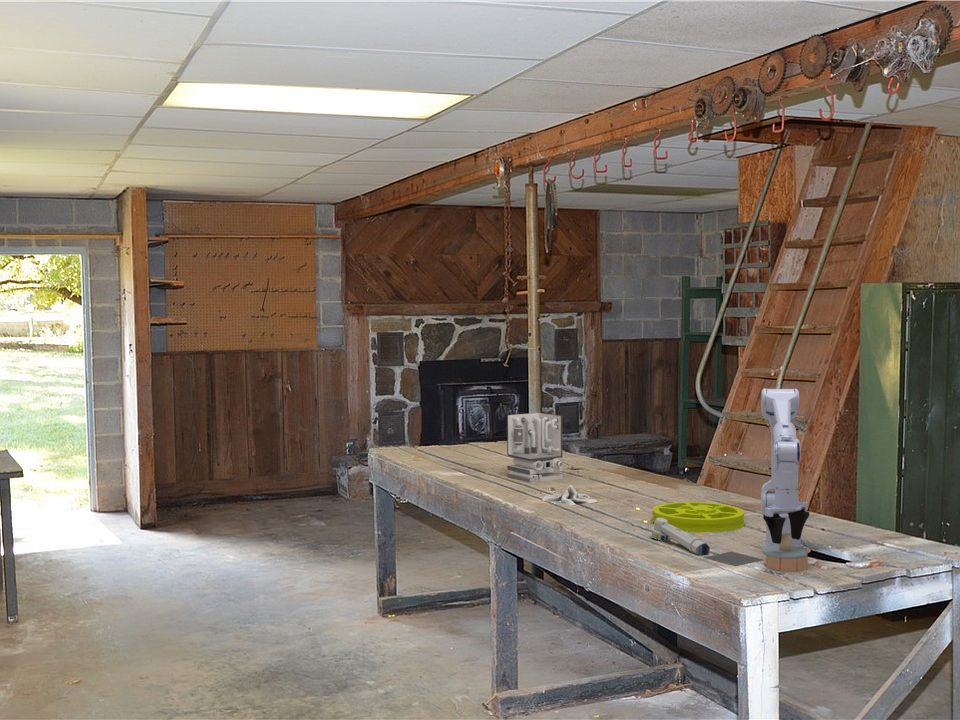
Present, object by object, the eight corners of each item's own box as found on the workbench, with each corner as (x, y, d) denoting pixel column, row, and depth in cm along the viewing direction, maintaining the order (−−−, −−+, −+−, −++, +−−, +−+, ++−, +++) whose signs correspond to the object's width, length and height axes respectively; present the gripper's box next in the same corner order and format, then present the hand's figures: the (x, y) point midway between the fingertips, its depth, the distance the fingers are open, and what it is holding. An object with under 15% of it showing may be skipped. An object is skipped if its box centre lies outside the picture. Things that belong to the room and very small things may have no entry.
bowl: (782, 560, 258) (783, 547, 258) (815, 568, 250) (815, 554, 250) (757, 566, 253) (757, 552, 252) (789, 574, 244) (789, 560, 244)
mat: (731, 552, 267) (731, 551, 267) (763, 561, 258) (763, 559, 258) (703, 558, 261) (703, 557, 261) (735, 567, 252) (735, 566, 252)
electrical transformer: (539, 473, 402) (538, 412, 401) (567, 480, 386) (567, 416, 384) (507, 477, 393) (506, 415, 392) (535, 484, 377) (534, 419, 376)
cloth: (534, 499, 350) (534, 481, 349) (583, 496, 354) (583, 479, 354) (555, 511, 328) (555, 492, 328) (607, 507, 333) (607, 489, 333)
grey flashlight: (695, 543, 262) (648, 513, 285) (693, 567, 263) (646, 535, 286) (712, 542, 264) (664, 512, 287) (710, 565, 265) (662, 533, 288)
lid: (779, 546, 259) (779, 527, 259) (816, 554, 250) (816, 534, 250) (753, 552, 252) (753, 533, 252) (790, 561, 244) (790, 541, 243)
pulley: (744, 516, 315) (744, 501, 315) (743, 535, 289) (743, 519, 288) (656, 512, 323) (656, 497, 323) (648, 531, 296) (648, 514, 296)
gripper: (780, 493, 243) (780, 548, 244) (817, 487, 251) (817, 540, 252) (758, 489, 249) (757, 542, 249) (795, 483, 257) (794, 535, 257)
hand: (786, 541), depth 251 cm, fingers open, 7 cm apart
